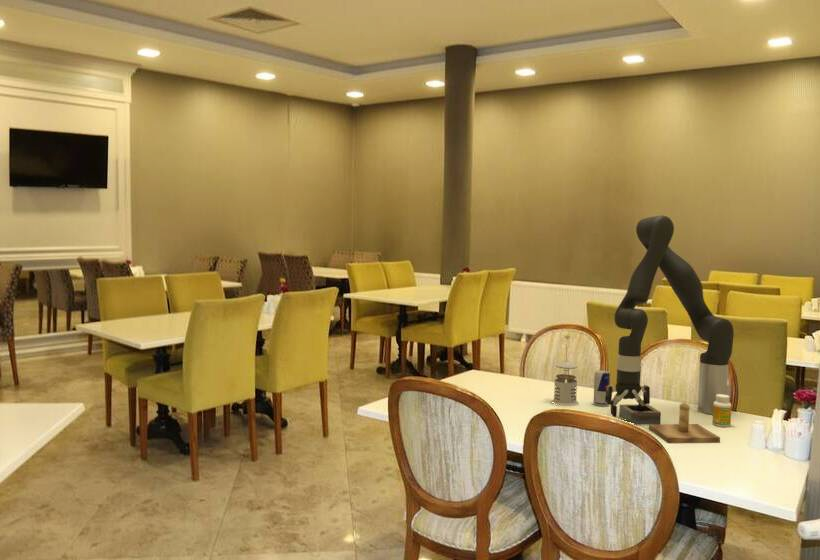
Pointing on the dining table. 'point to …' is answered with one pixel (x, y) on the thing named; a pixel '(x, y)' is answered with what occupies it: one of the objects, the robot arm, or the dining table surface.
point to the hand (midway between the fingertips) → (626, 416)
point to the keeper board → (683, 436)
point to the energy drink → (601, 387)
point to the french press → (565, 384)
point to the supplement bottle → (722, 411)
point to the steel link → (640, 414)
